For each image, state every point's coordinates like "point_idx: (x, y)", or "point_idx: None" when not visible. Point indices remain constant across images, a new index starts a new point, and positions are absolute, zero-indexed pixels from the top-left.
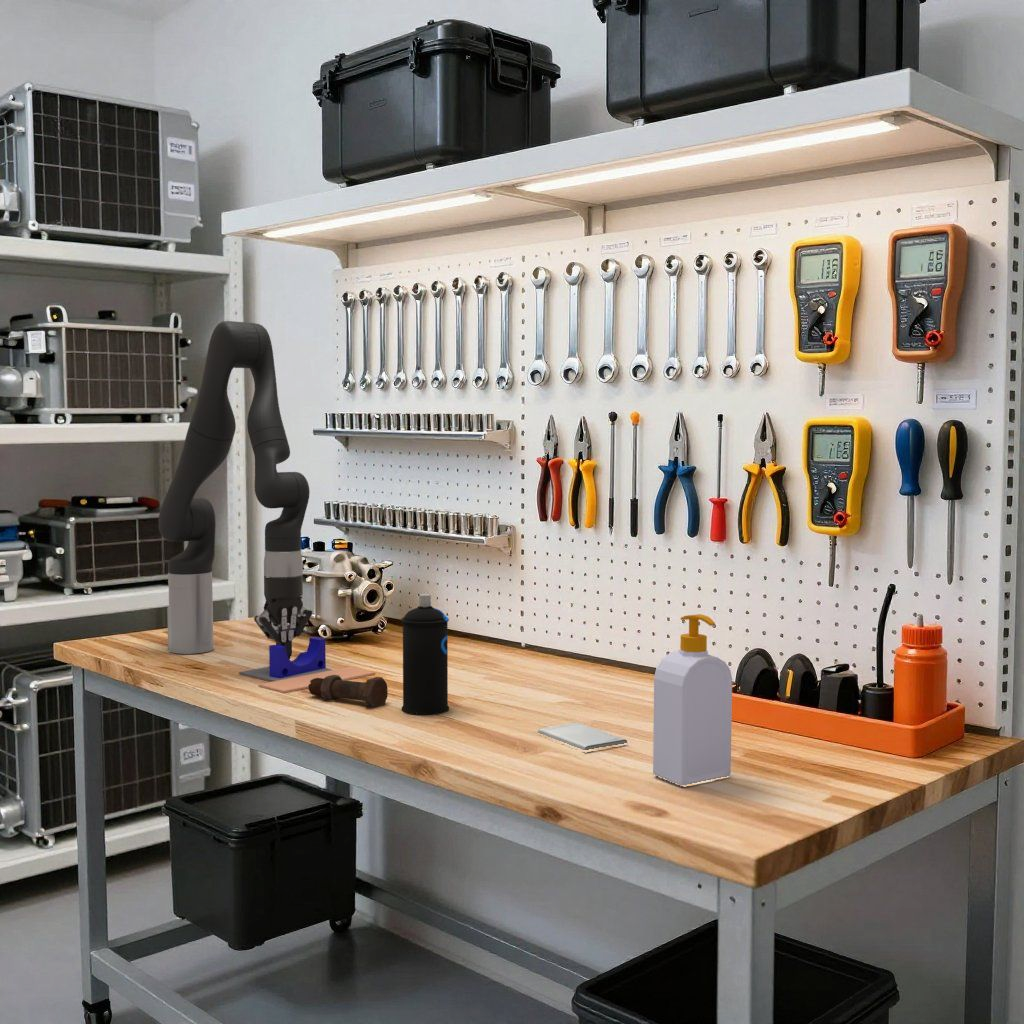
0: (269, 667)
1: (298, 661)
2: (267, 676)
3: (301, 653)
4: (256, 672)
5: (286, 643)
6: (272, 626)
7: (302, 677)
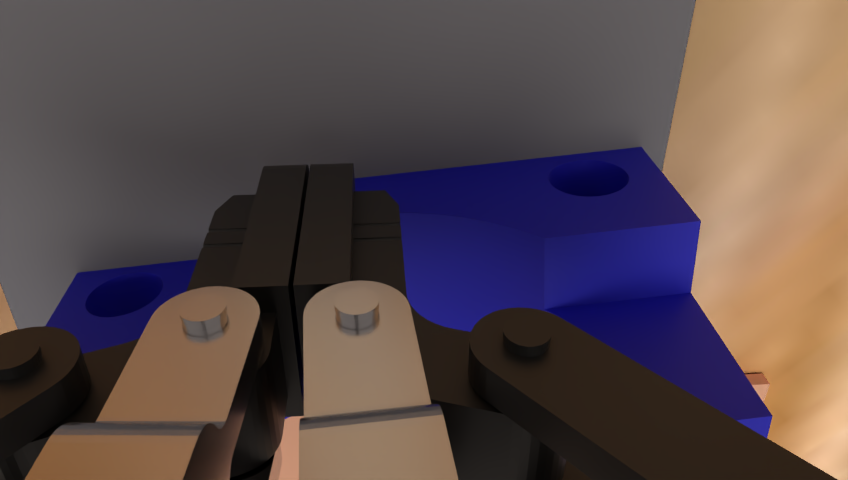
0: (46, 324)
1: (432, 282)
2: (58, 266)
3: (537, 260)
4: (31, 44)
5: (290, 404)
6: (49, 468)
7: (280, 443)
